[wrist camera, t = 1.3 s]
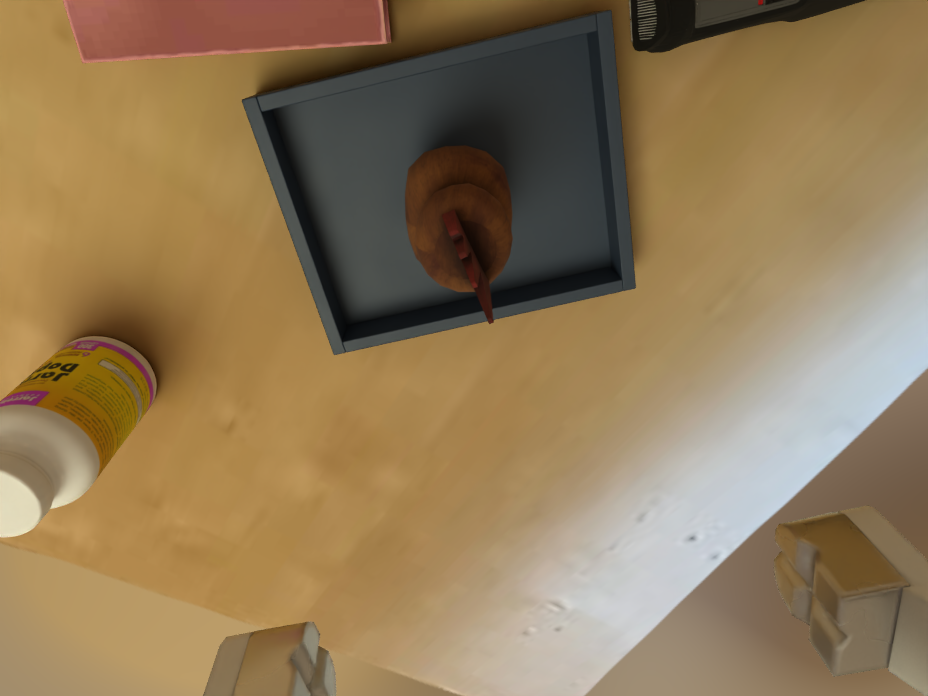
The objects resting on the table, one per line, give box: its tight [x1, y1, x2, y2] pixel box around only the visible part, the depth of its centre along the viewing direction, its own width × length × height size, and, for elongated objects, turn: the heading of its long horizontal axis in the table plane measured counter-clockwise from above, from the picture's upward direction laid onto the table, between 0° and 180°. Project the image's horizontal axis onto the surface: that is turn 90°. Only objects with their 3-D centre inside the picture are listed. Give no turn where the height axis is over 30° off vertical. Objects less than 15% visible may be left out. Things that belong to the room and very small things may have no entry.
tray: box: [242, 10, 636, 355], centre depth 36 cm, size 20×16×3 cm
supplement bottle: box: [0, 336, 157, 537], centre depth 36 cm, size 7×7×13 cm
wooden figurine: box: [405, 145, 513, 324], centre depth 30 cm, size 7×6×15 cm
